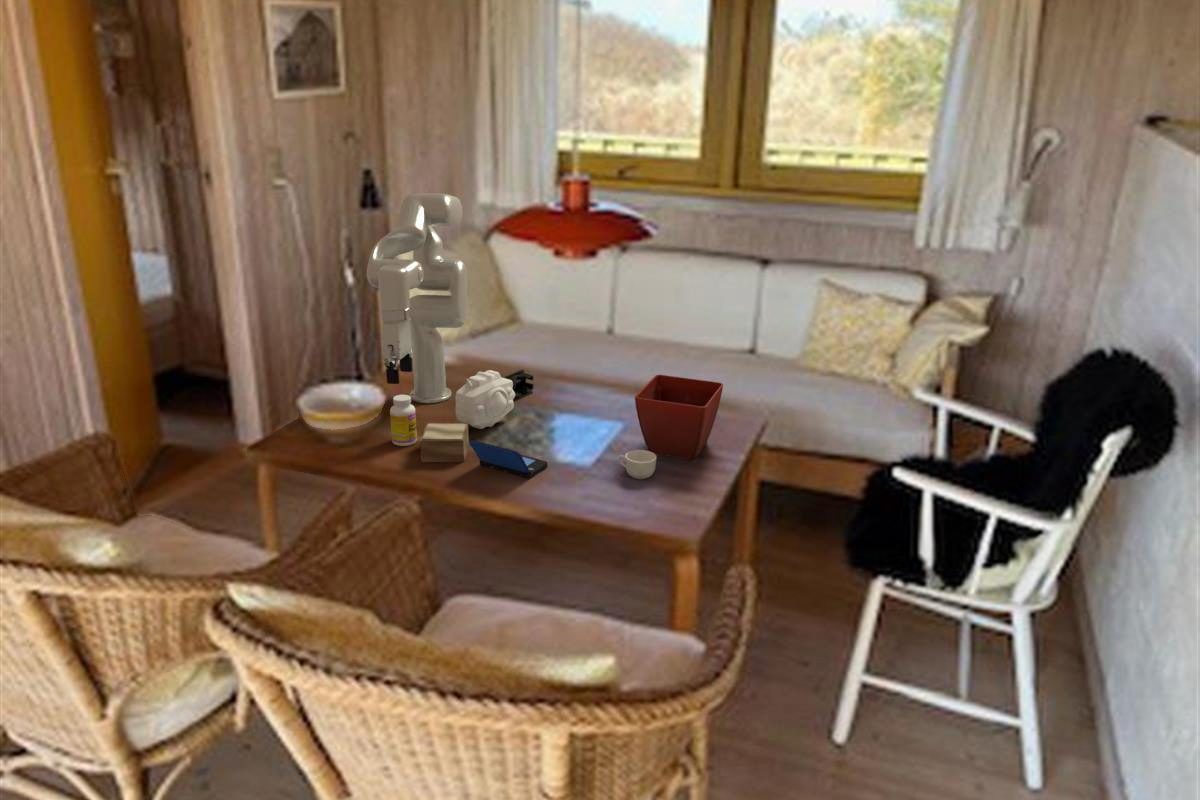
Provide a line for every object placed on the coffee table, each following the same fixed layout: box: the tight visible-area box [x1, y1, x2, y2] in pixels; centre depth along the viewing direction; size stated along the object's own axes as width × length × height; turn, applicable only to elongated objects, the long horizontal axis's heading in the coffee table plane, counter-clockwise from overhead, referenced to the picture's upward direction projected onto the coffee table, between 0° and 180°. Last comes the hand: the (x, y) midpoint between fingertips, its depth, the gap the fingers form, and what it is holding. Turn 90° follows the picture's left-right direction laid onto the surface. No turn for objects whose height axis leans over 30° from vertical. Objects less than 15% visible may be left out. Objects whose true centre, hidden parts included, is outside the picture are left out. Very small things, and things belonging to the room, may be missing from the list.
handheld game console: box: [469, 439, 549, 480], centre depth 233 cm, size 16×13×9 cm
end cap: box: [501, 369, 534, 402], centre depth 282 cm, size 10×7×7 cm
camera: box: [454, 369, 515, 430], centre depth 258 cm, size 11×18×16 cm, turn 143°
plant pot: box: [634, 374, 724, 461], centre depth 245 cm, size 19×19×17 cm
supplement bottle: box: [389, 394, 418, 447], centre depth 247 cm, size 7×7×13 cm
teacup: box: [617, 449, 657, 480], centre depth 232 cm, size 10×8×5 cm
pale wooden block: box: [419, 423, 470, 463], centre depth 242 cm, size 11×11×6 cm
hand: (399, 377), depth 242 cm, fingers open, 9 cm apart
